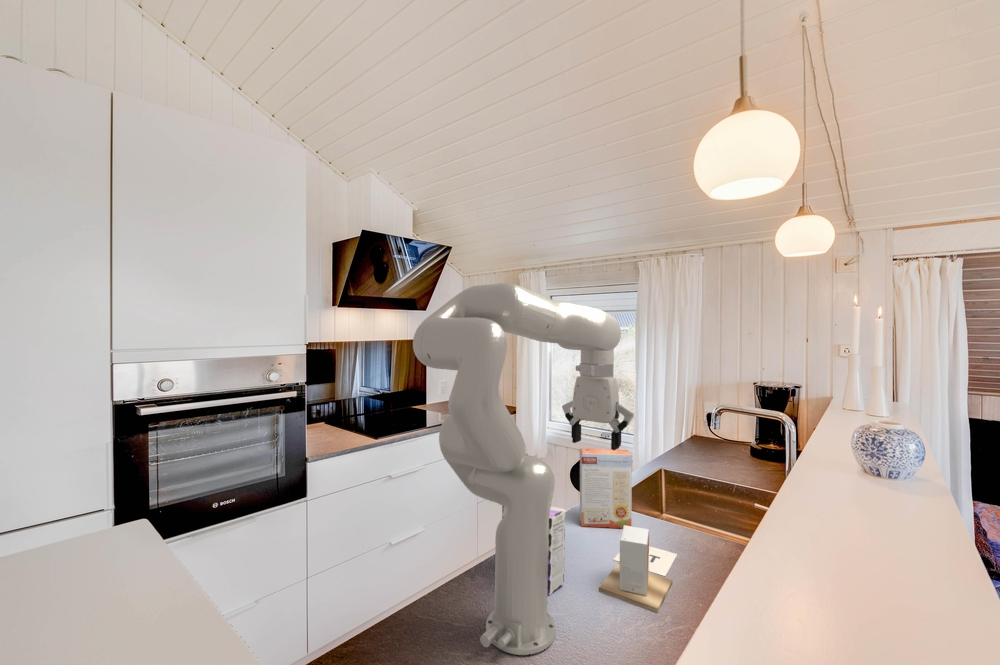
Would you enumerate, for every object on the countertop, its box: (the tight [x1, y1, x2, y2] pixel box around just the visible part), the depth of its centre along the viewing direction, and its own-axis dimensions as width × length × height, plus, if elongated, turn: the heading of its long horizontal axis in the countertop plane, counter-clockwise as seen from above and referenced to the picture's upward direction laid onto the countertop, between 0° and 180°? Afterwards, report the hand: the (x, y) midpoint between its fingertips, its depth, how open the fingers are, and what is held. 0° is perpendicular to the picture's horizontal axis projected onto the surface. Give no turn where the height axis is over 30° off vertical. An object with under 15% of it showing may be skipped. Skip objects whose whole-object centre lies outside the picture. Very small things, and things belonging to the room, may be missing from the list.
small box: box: [619, 525, 650, 595], centre depth 92 cm, size 8×6×10 cm
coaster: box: [598, 562, 673, 613], centre depth 92 cm, size 12×12×1 cm
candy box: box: [501, 505, 567, 596], centre depth 95 cm, size 14×6×16 cm, turn 47°
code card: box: [612, 545, 678, 577], centre depth 105 cm, size 12×12×1 cm
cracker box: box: [579, 448, 633, 529], centre depth 123 cm, size 14×6×21 cm, turn 84°
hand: (595, 445), depth 100 cm, fingers open, 9 cm apart
